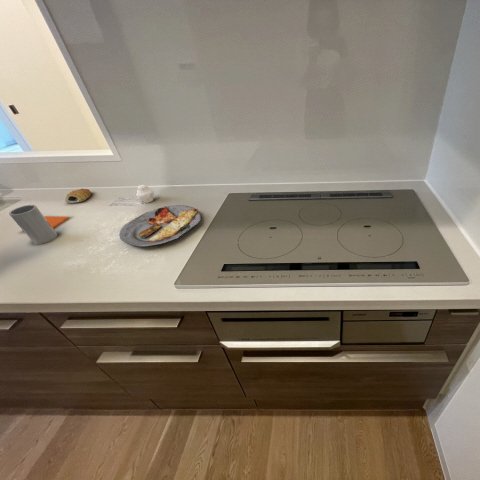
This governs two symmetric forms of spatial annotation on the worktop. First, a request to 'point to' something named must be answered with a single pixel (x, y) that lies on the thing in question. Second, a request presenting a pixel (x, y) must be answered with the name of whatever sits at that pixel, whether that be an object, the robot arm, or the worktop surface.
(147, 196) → the white lumpy ball
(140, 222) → the food plate
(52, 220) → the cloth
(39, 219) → the grey cylindrical cup
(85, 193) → the pastry
